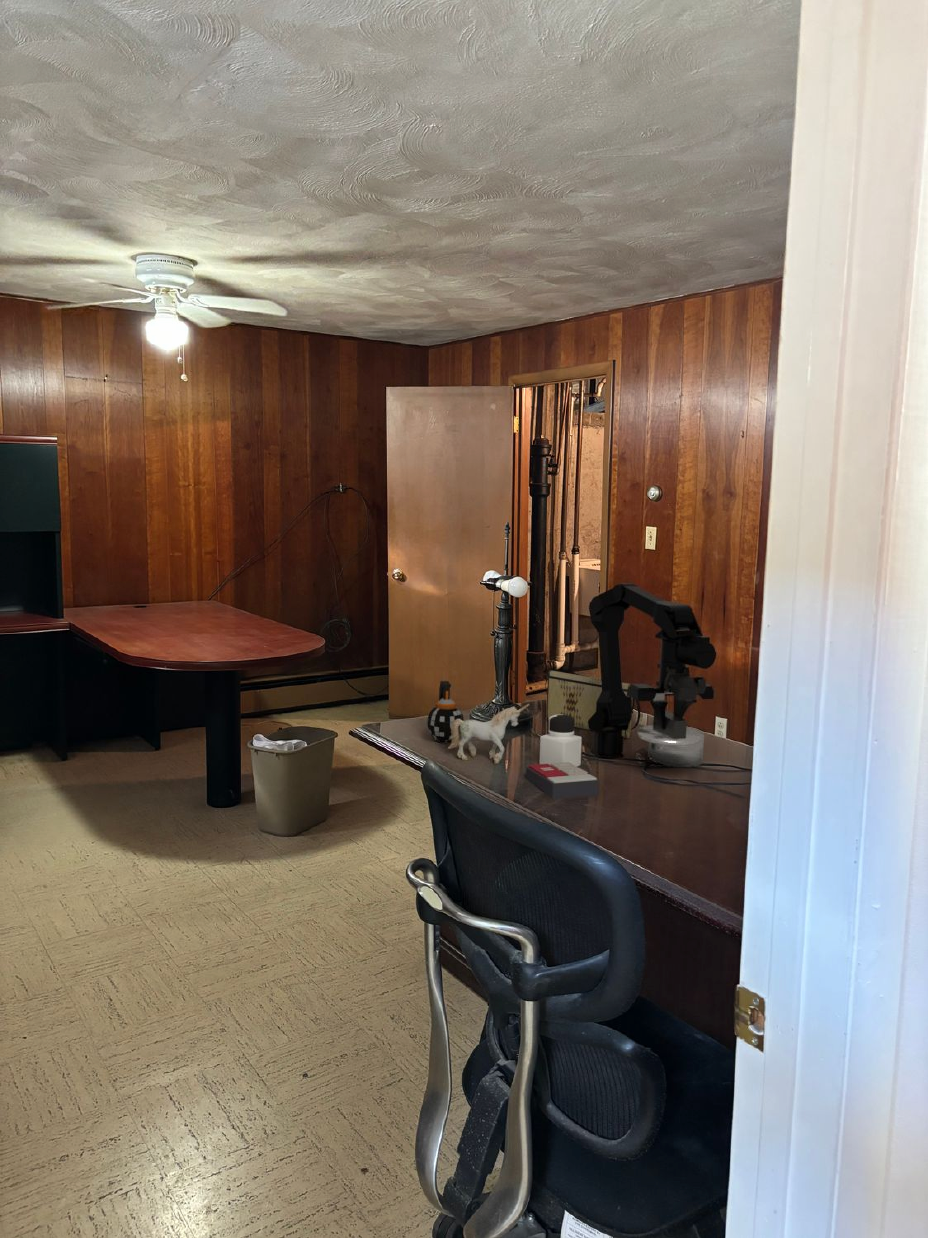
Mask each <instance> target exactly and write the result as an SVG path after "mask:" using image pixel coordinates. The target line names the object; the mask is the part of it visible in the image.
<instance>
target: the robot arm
mask: <svg viewBox="0 0 928 1238" xmlns="http://www.w3.org/2000/svg"><path fill="white" fill-rule="evenodd" d="M631 607H632V608H635V609H637V610H639V611H640V612H641V613H644V614H646V615H648V616H649V617H651V618H652V620H653V623H654V624H655V625H656V626H657V627H658V628H660V631H659V632H657V633H656V634H654V637H655V638H656V639H660V640H661V642H660V643H661V644H660V658H659V659H660V660H659V662H657V664H656V668H658V669H659V675H658V676H659V678H658V680H656V681H655V686H656V687H653V686H651V685H649V684H647V683H630V684H631V685H630V687H629V688H628V697H627V696H626V694H625V693H624V691H623V689H622V683H623V679H622V678H623V677H622V661H621V647H620V646H621V645H620V633H619V632H620V629H621V627H622V625H623V624H624V621H625V612H626V611H627V610H628V609H630V608H631ZM588 610H589V611H588V612H589V616H590V617H589V618H590V621H591V624H592V625H593V627H594V628H595V630H596V631H597V636H598V650H599V664H600V677H601V678H600V679H601V682H602V692H601V694H600V696H599V698H598V700H597V702H596V712H595V713H594V714H593V716H592V717H591V718H590V719H589V720H588V726H589V731H592V732H593V739H592V740H593V742H592V743H593V746H592V748H590V749H589V750H590V752H591V753H593V754H594V755H595V756H597V757H598V758H600V759H601V758H602V759H603V758H615V757H616V758H619V757H620V758H621V757H624V756H625V754H624V753H623V752H624V739H625V738H624V737H623V736H622V730H627V729H628V726H629V723H630V720H631V718H633V717H632V716H633V713H634V709H633V710H632V699H631V698H633V699H635V701H636V700H637V701H639V702H650V705H651V707H652V709H653V712H654V711H655V714H656V717H657V720H658V722H659V725H660V728H661V729H662V730H664V728H665V710H666V707H667V706H668V704H669V702H668V701H667V700H666V699H665V697H666V696H673V714H675V715H677V716H679V717H681V718H683V719H684V716H685V714H686V712H687V711H688V709H689V707H690V706H692V705H693V704H697V703H698V700H697V697H698V696H699V697H700V698H701V700H713V699H715V695H716V692H715V691H716V690H715V688H714V687H713V685H710V684H708V683H707V680H706V678H705V677H704V676H696V677H692V676H690V667H689V666H691V667H695V668H699V669H704V670H706V669H709V668H711V667H712V666H713V665H714V663H715V661H716V659H717V652H716V648H715V646H714V644H712V643H711V642H710V639H711V638H710V637H709V636H703V633H702V630H701V627H700V625H699V623H698V619H696V616H695V613H694V609H693V607H691V606H690V605H689V604H685V603H681V602H674V601H669V600H665V599H663V598H661V597H658V596H657V595H654V594H653V593H650V592H648V591H646V590H645V589H642V588H641V587H638V586H637V585H636V584H634V583H632V582H631V583H630V582H629V583H627V582H626V583H618V584H616V585H614V586H613V587H612V588H610V589H608V590H606V591H604V592H601V593H600V594H598V595H595V596H593V598H592V599H591V601H589V605H588ZM631 721H632V720H631Z"/></svg>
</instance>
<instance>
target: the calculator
mask: <svg viewBox="0 0 928 1238" xmlns="http://www.w3.org/2000/svg"><path fill="white" fill-rule="evenodd" d="M525 768H526V769H525V770H526V771H525V773H526V775H525V776H526V777H525V779H526V780H527V781H528V782H529V783H531V784H532V785H534V786H535V787H536V788H537V789H540V790H541V791H543V792H544V794H545V795H546V796H548V798H550V799H552V800H564V799H566V800H567V799H574V798H575V799H576V798H577V799H578V798H586V797H588V798H589V797H598V796H600V779H598V778H597V777H596V776H594V775H592V774H590V773H589V772H588V771H587V770H584V769H582V768H581V767H578V766H575V765H573V764H571V763H569V762H564V763H551V765H549V764H538V763H537V764H529V765H528V766H527V767H525Z"/></svg>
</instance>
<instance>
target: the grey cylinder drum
mask: <svg viewBox="0 0 928 1238" xmlns="http://www.w3.org/2000/svg"><path fill="white" fill-rule="evenodd" d="M687 728H688V729H692V730H695V731H697V732H699V733H700V734H701V741H700V742H699V743H697V744H694V745H686V746H672V745H662V744H656V743H651V742H648V748H647V749H648V750H647V751H648V753H647V758H648V757H650V758H652V759H654V761H656V762H658V763H660V764H663V765H662V766H665V765H666V767H671V766H673V767H672V768H692V767H691V766H695V767H699V766H700V765H702V764H703V757H704V744H705V743H704V741H705V733H704V732H703V731H702V730H700V729H698V728H694V727H691V726H687ZM660 764H659V765H660Z"/></svg>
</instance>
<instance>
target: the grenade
mask: <svg viewBox="0 0 928 1238" xmlns="http://www.w3.org/2000/svg"><path fill="white" fill-rule="evenodd" d="M451 687H452V684H451V682H449V680H440V683H439V688H438V690H439V691H438V701H436V702H435V706H434V707H433V708H432V709H431V710H430V711H429V713H428V716H427V720H426V721H427V722H426V723H427V724H426V725H427V730H428V732H429V734H430V736H431V737H432V738H433V739H435V742H436V743H439V744H446V745H447V744H451V741H452V739H451V738H450V736H451V735H452V733H451V727H452V723H453V722H454V721H455V720H456V719H461V720H462V721H465V719H464V715H463V712H462V710H461V709H460V707H458V706H457V705H458V704H457V702H456V701H454V700H453V699H452V698H451V697H450V696H451V693H450V692H451ZM459 727H460V726H459ZM460 735H461V732H460ZM461 736H462V735H461Z"/></svg>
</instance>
